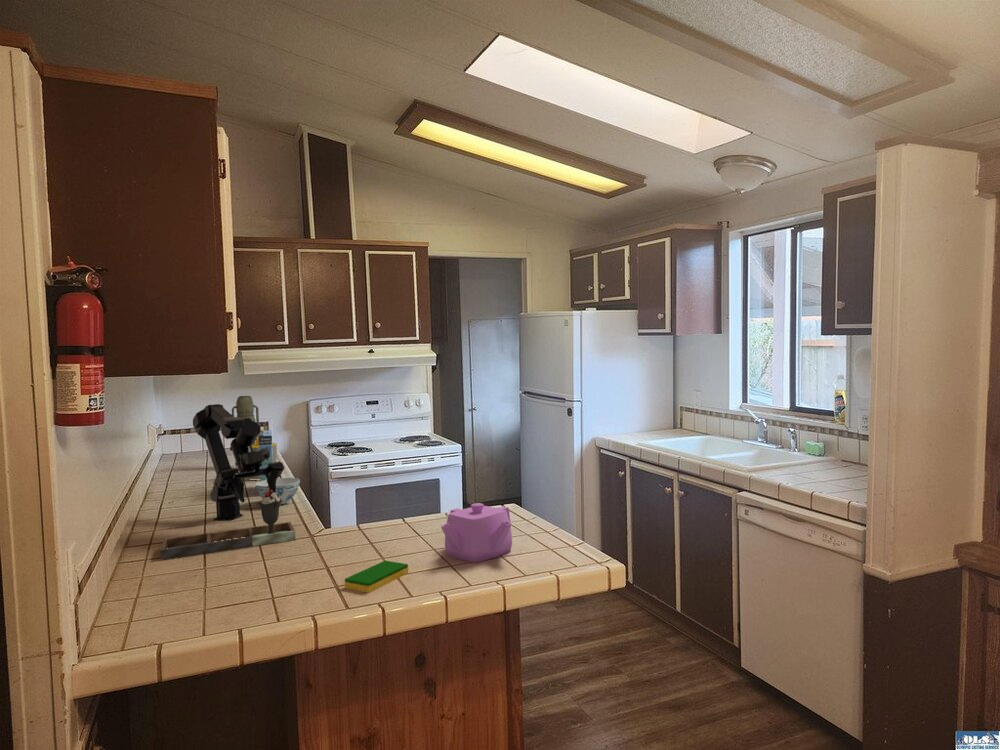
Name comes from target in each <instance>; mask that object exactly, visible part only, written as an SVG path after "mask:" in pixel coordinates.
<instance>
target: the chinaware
mask: <svg viewBox="0 0 1000 750" xmlns="http://www.w3.org/2000/svg"><path fill="white" fill-rule="evenodd" d="M300 484H301V480H300V478H297V477H278V478H277V480H276V494H278V495H279V497H278V498H279V499H282V502H281V503H280V506H282V505H281V504H284V505H286V504H285V503H287V502H288V501H290V500H291V499H292V498H294V496H295V495H296V494H297V492H298V490H299V487H300ZM254 485H255V489H256V491H257V493H258V495H259V497H260V498H261V499H263V497H264V496H265V494H266V491H267V492H269V489H270V488H269V487H268V488H269V489H268V488H267V486H268V483H267V480H264V481H256V483H255V484H254ZM287 504H288V503H287Z"/></svg>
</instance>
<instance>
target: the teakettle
mask: <svg viewBox="0 0 1000 750" xmlns="http://www.w3.org/2000/svg"><path fill="white" fill-rule="evenodd" d="M440 528H441V531H442V532H443V534H444V548H445V549H444V550H445V553H446V554H447V556H449V557H452V558H455V559H458V560H461V561H465V562H469V563H473V564H474V563H480V562H483V561H488V560H490V559H494V558H497V557H499V556H503V555H505V554H506V553H509V552H510V551H511V549H512V545H513V536H512V535H513V534H512V523H511V516H510V507H508V506H507V507H506V506H499V507H493V506H488V505H484V503H482V502H477V503H476V502H475V503H472V504H470V507H466V508H454V509H450V512H449V514H448V515H447V519H446V523H445V524H443V525H441V526H440Z"/></svg>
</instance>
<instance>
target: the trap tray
mask: <svg viewBox="0 0 1000 750" xmlns="http://www.w3.org/2000/svg"><path fill="white" fill-rule="evenodd" d="M273 530H274V532H275V533H274V534H268V532H269V525H268V524H266V525H258V526H252V527H245V528H236V529H230V530H221V531H215V532H207V533H201V534H194V535H193V534H191V535H185V536H178V537H170V538H164V539H163V542H162V545H161V549H160V556H161V558H160V560H161V559H164V560H169V559H168V558H171V559H176V558H175V557H177V558H182V557H181V556H184V557H189V555H191V556H196V555H195V554H198V555H203V553H204V554H210V552H211V553H216V551H218V552H223V551H222V550H225V551H229V550H228V549H231V550H235V549H234V548H238V549H242V547H245V548H251V547H250V546H252V547H259V546H263V545H270V544H271V545H272V544H279V543H285V542H292V541H296V530H295V529H294V526H293V524H292V522H291V521H290V522H288V521H287V522H281V523H274V525H273ZM241 537H245V538H241ZM233 538H238V539H233ZM226 539H231V540H226ZM221 540H224V541H221ZM214 541H217V542H214ZM167 548H168V549H167Z"/></svg>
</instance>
